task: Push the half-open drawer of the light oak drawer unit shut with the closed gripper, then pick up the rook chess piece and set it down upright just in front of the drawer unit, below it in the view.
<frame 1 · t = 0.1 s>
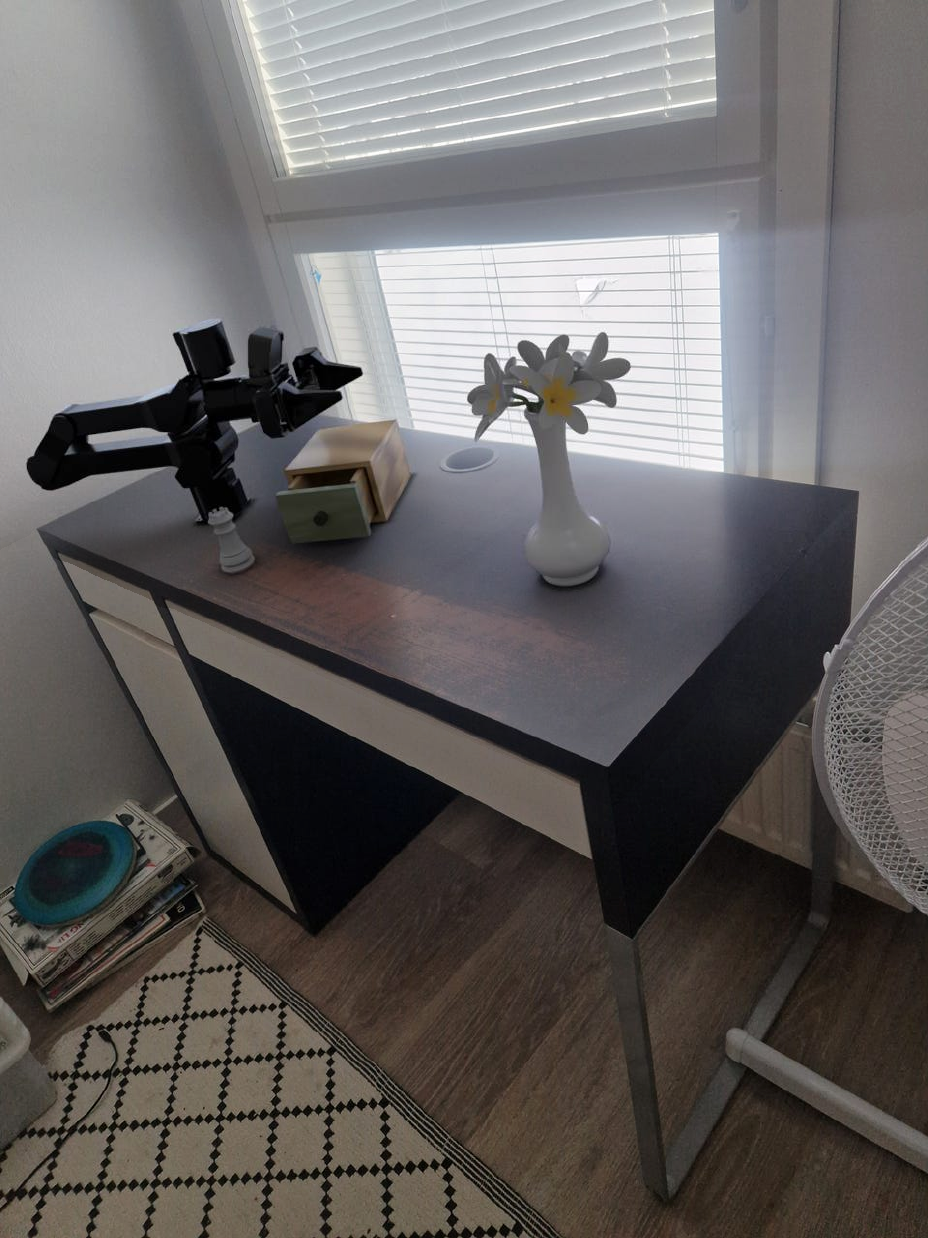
hand: (352, 382, 112), 17 cm above the table, tool horizontal, fingers open, 9 cm apart
rook chess piece: (239, 567, 111), on the table
flower vase: (570, 570, 94), on the table
drawer unit: (359, 501, 121), on the table
drawer: (336, 495, 113), point 4 cm above the table, slide at 4.5 cm
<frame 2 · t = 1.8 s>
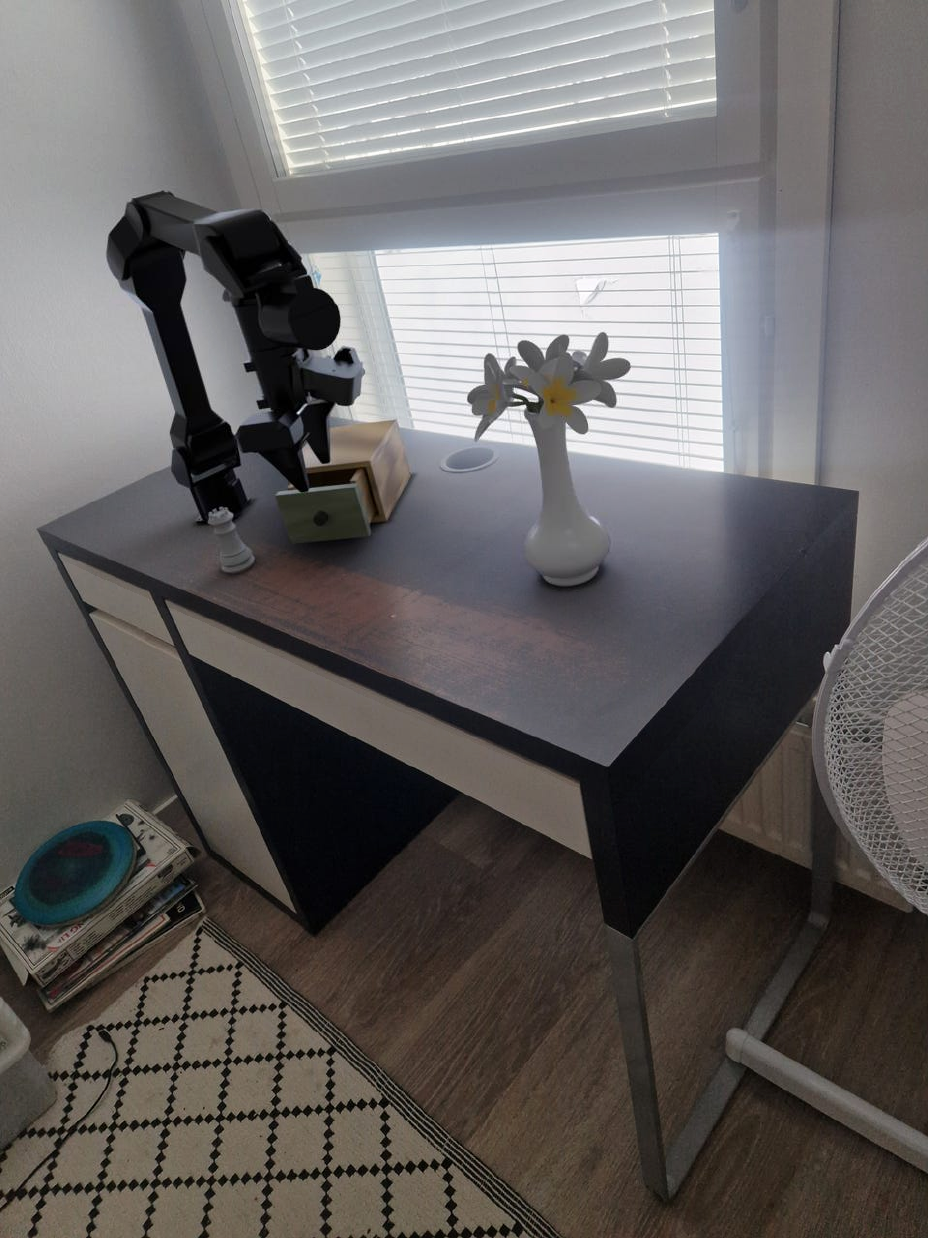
hand: (315, 476, 99), 12 cm above the table, tool pointing down, fingers open, 7 cm apart
nothing on the table moved.
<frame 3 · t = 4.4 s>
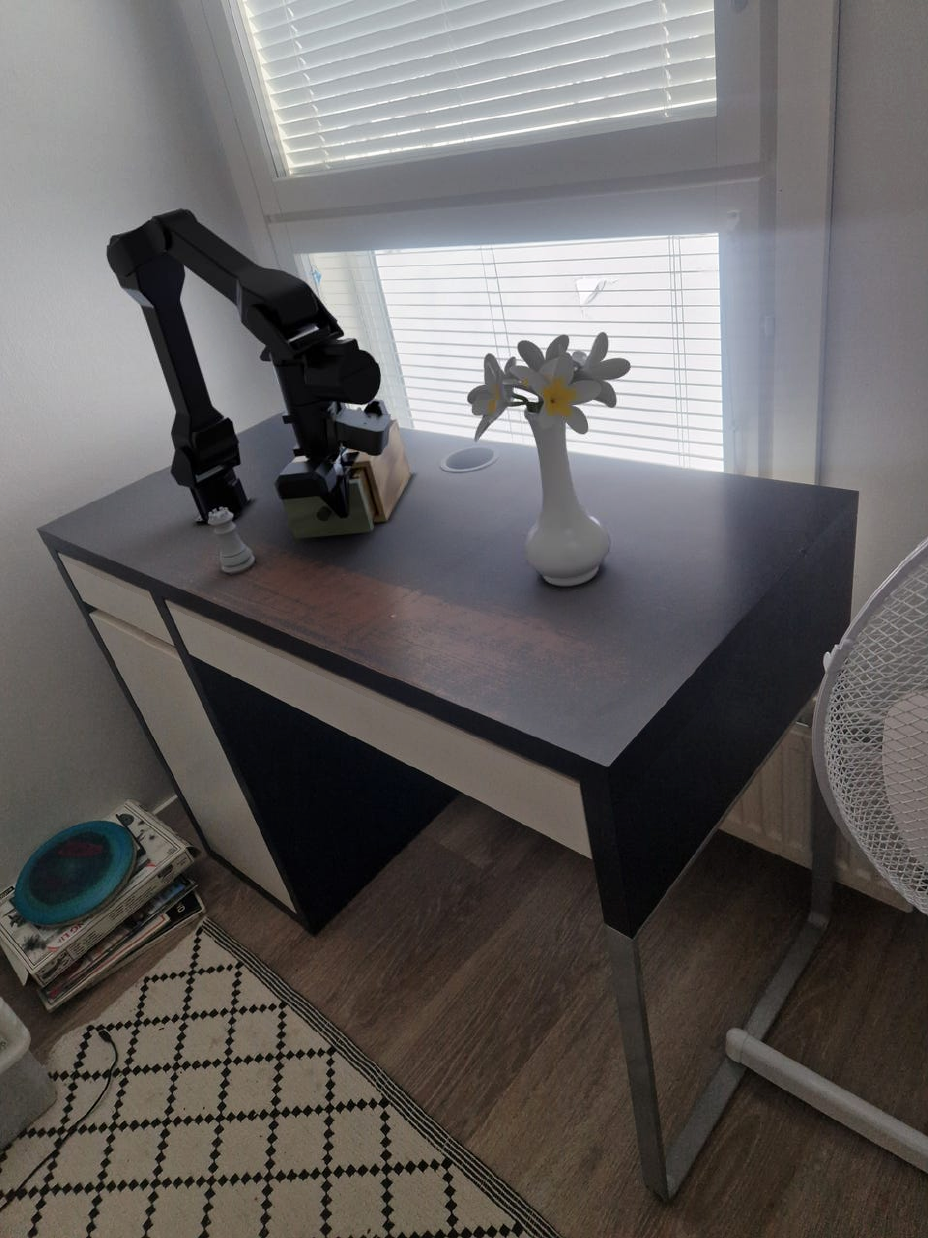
hand: (344, 516, 107), 4 cm above the table, tool pointing down, fingers closed
drawer: (339, 491, 114), point 4 cm above the table, slide at 3.2 cm, touching gripper
everything else where it was.
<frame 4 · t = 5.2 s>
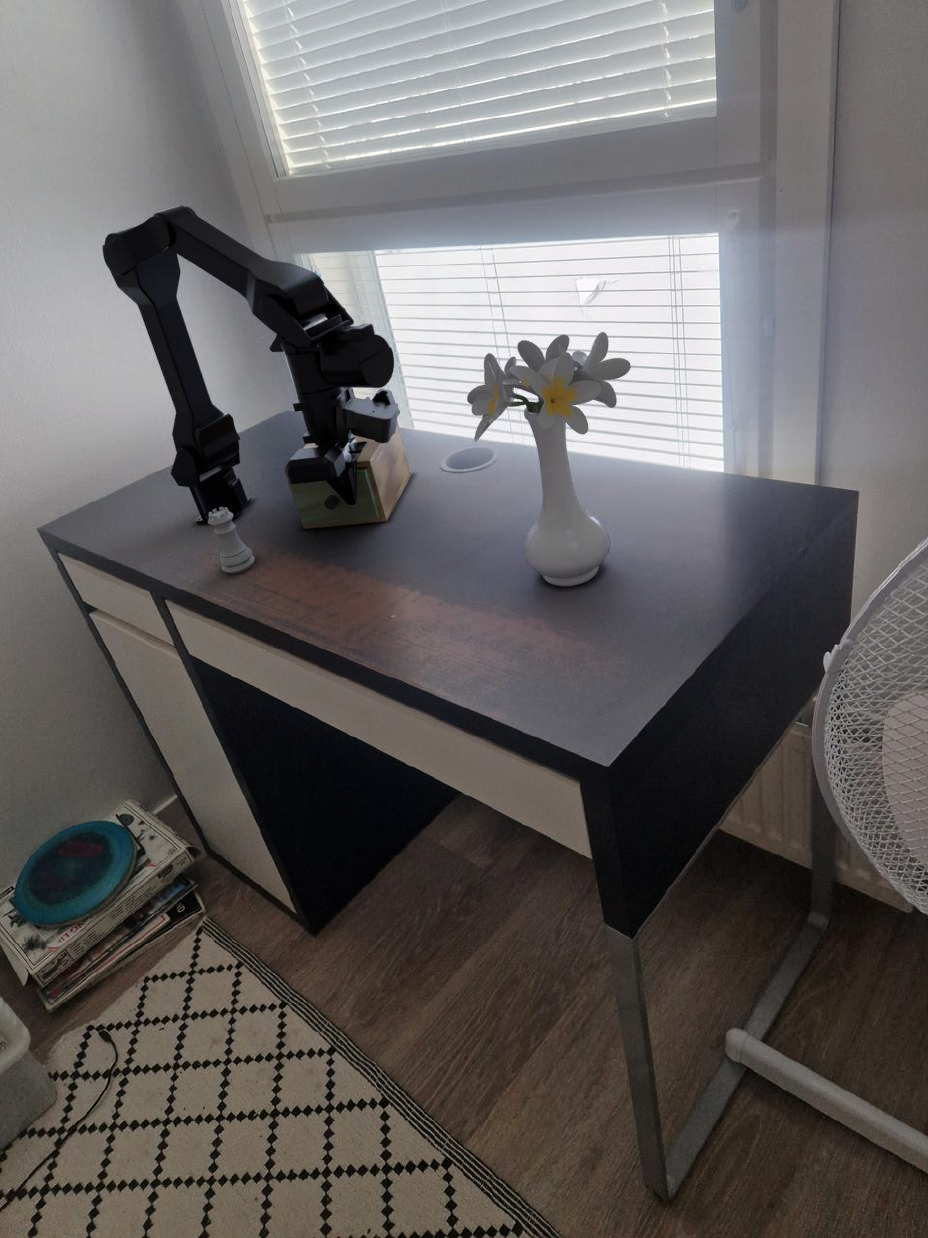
hand: (352, 504, 109), 4 cm above the table, tool pointing down, fingers closed
drawer: (346, 480, 117), point 4 cm above the table, slide at 0.0 cm, touching drawer unit, gripper
everything else where it was.
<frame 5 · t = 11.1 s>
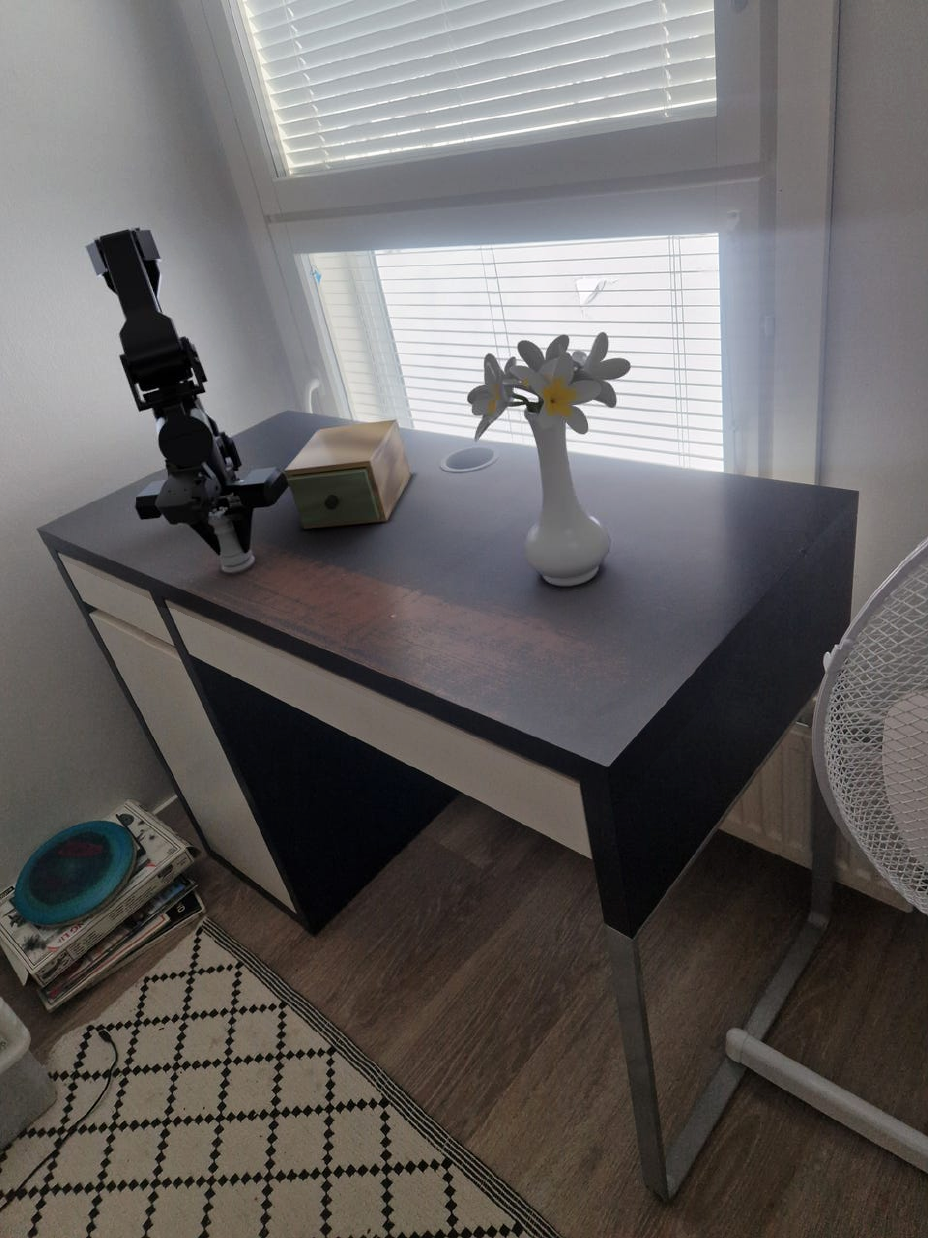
hand: (234, 552, 110), 2 cm above the table, tool pointing down, fingers closed on rook chess piece, 3 cm apart
rook chess piece: (239, 567, 111), on the table, touching gripper
drawer: (346, 480, 117), point 4 cm above the table, slide at 0.0 cm, touching drawer unit
everything else where it was.
when the fingers open (2 cm above the table, at t = 15.8 s): rook chess piece stays where it is, on the table.
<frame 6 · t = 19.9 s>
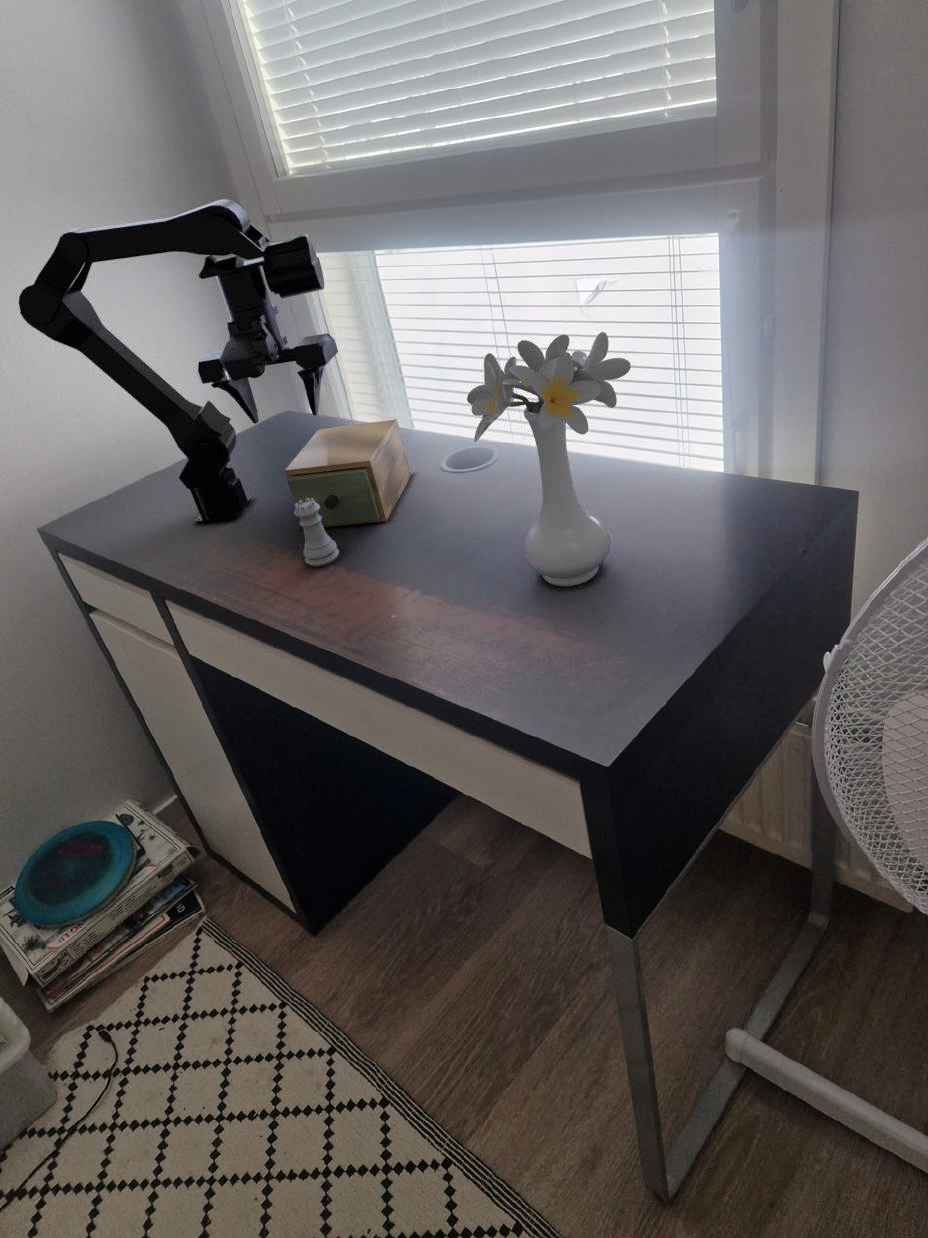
hand: (285, 418, 120), 12 cm above the table, tool pointing down, fingers open, 9 cm apart
rook chess piece: (323, 560, 108), on the table
everything else where it was.
at the end: drawer slide at 0.0 cm; rook chess piece inside the target area in the drawer (0.8 cm from its centre), point 0.0 cm above the drawer unit's base; rook chess piece tilted 0° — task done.
